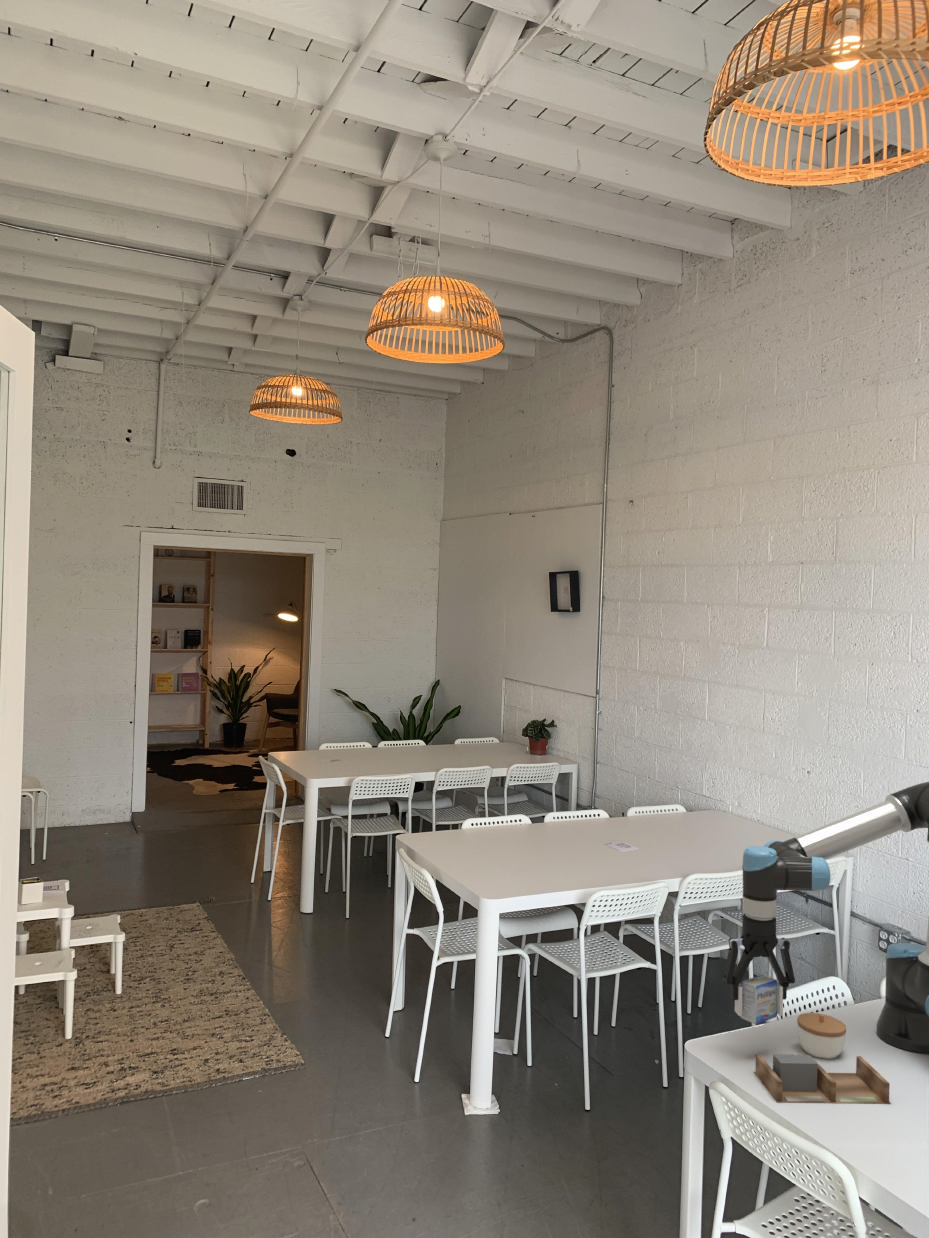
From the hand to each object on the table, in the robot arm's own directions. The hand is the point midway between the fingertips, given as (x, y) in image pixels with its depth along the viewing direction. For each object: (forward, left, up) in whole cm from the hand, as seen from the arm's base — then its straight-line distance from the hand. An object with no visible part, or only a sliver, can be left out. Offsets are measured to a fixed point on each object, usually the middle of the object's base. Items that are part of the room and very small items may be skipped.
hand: (758, 1013), depth 205 cm
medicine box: (0, 0, -1) cm, 1 cm away
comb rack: (-8, +14, -11) cm, 20 cm away
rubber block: (-3, +14, -10) cm, 17 cm away
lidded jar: (-16, -3, -11) cm, 20 cm away
